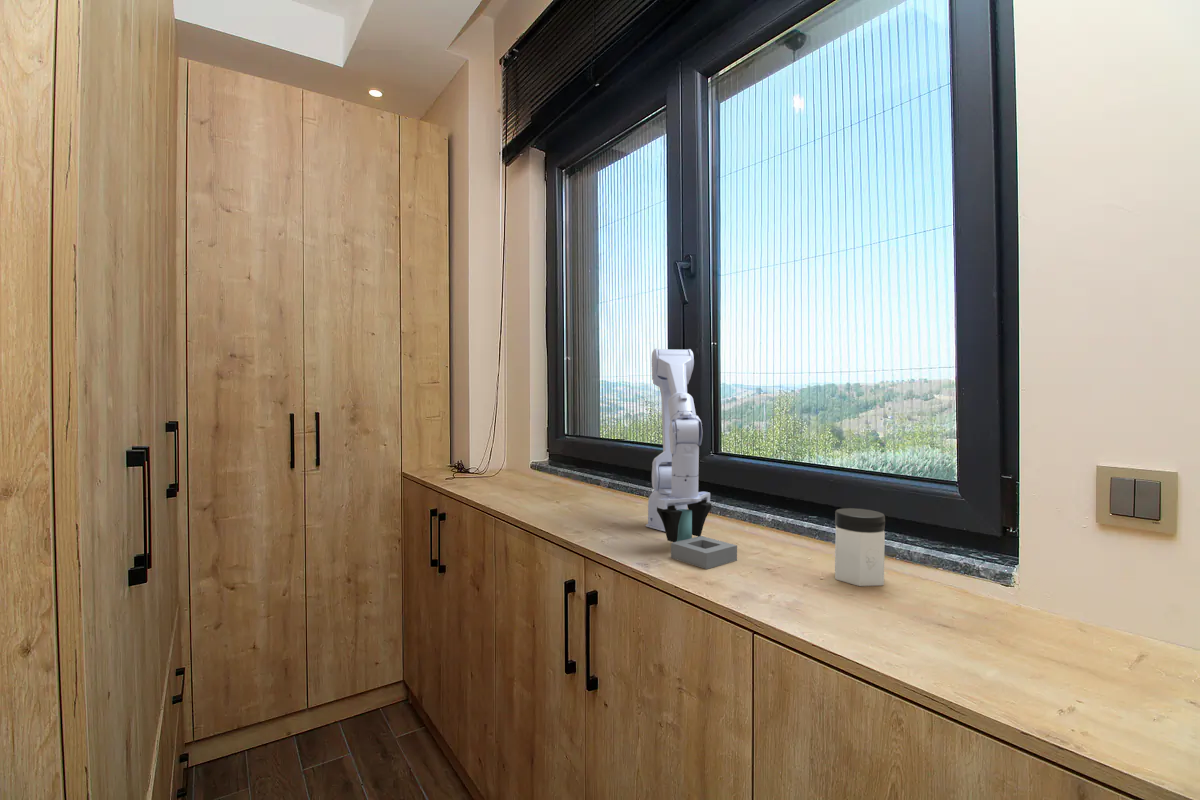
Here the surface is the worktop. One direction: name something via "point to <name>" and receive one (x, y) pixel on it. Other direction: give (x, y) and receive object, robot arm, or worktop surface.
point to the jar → (859, 546)
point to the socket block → (704, 552)
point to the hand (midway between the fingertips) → (684, 538)
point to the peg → (685, 525)
